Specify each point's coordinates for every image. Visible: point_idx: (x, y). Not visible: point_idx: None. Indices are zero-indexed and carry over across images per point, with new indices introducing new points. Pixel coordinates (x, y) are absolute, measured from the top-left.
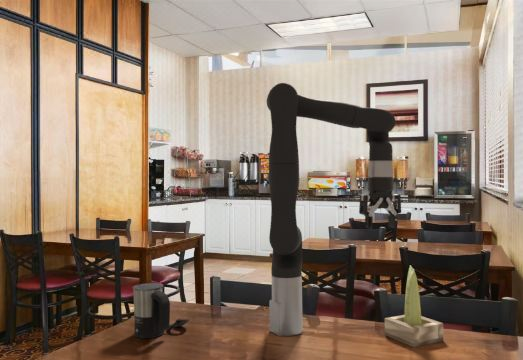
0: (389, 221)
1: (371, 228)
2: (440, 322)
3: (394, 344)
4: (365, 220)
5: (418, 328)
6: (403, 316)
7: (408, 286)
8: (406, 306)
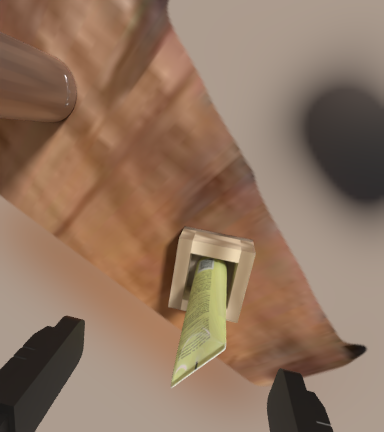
0: (286, 424)
1: (76, 355)
2: (238, 318)
3: (161, 263)
4: (2, 372)
5: (179, 309)
6: (219, 254)
7: (183, 330)
8: (190, 294)
